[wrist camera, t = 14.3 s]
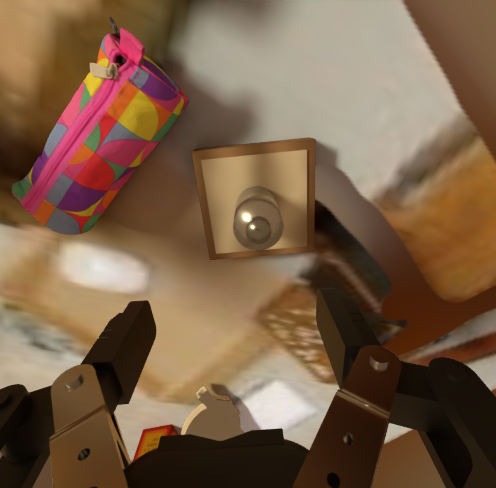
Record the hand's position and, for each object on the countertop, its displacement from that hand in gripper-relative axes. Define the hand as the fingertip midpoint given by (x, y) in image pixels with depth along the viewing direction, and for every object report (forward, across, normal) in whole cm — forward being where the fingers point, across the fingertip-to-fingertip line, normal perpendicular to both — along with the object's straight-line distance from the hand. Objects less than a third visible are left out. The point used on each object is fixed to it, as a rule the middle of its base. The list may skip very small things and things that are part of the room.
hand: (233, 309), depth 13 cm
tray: (+25, -2, +2) cm, 25 cm away
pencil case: (+25, +14, -7) cm, 30 cm away
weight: (+21, -2, +2) cm, 21 cm away
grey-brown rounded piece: (+25, +9, +44) cm, 51 cm away
